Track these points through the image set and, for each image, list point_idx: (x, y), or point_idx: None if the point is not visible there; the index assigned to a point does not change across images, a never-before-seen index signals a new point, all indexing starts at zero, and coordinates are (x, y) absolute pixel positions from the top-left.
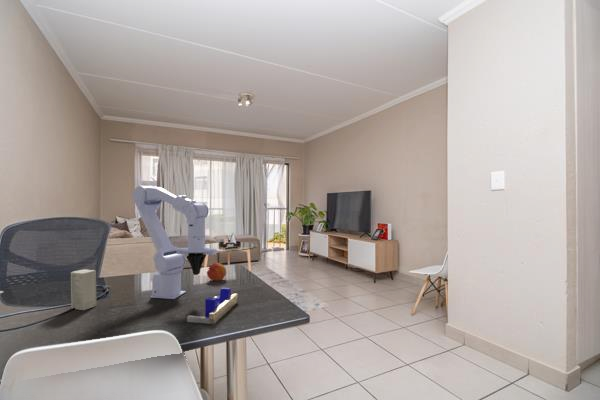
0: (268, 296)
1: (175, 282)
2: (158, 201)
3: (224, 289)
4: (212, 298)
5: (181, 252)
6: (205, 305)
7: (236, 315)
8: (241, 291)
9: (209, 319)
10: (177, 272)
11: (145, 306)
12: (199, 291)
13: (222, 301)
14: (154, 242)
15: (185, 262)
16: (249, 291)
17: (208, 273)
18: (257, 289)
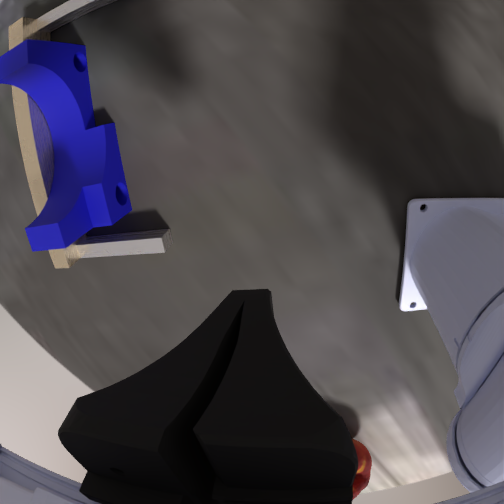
0: (41, 323)
1: (450, 275)
2: None
3: (42, 223)
4: (7, 69)
5: (494, 501)
6: (47, 41)
7: (12, 129)
8: (148, 362)
9: (38, 19)
10: (469, 332)
11: (478, 81)
12: (337, 335)
13: (67, 177)
14: None
15: (448, 444)
16: (122, 364)
17: (357, 455)
18: (114, 382)
